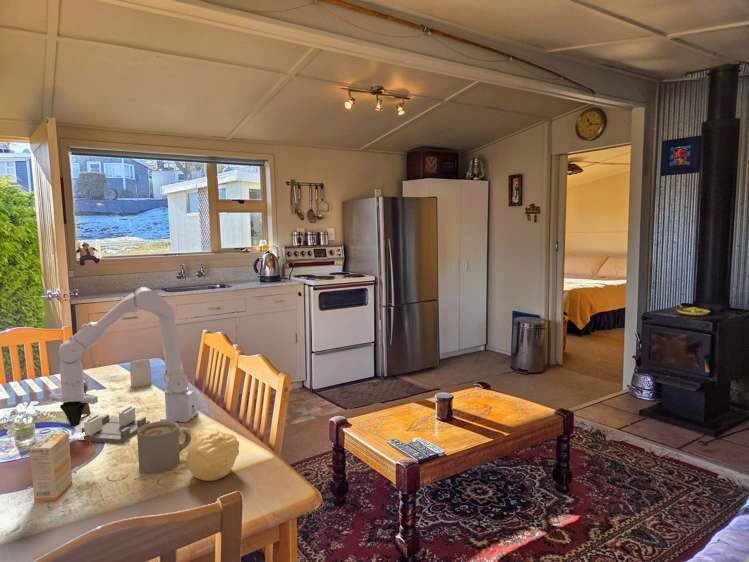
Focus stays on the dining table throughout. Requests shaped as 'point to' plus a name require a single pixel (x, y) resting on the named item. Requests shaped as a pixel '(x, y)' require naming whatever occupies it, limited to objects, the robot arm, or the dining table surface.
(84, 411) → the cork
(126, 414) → the far fader cap
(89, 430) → the near fader cap
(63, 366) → the robot arm
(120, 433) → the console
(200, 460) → the sculpture
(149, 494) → the dining table surface
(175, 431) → the coffee mug
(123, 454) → the dining table surface
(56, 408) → the dining table surface
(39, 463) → the supplement box
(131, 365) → the beige rectangular box
